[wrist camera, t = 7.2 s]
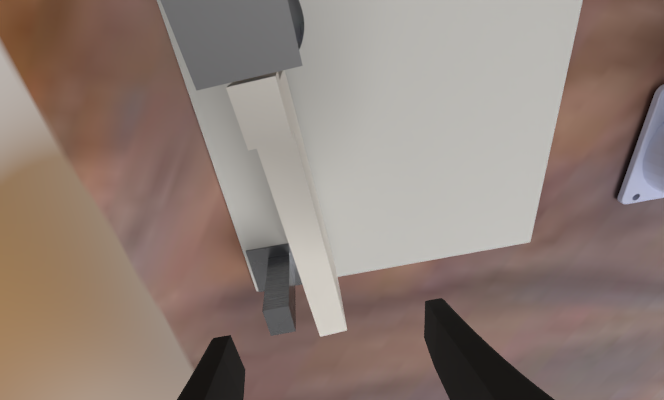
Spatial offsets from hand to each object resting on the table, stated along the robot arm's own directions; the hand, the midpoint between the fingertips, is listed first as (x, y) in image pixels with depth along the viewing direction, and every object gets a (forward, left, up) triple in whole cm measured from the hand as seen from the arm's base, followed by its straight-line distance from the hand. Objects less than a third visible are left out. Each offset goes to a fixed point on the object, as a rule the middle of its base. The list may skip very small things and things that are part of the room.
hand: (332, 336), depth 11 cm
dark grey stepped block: (+3, +4, -9) cm, 11 cm away
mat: (-5, -3, -9) cm, 11 cm away
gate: (+1, -4, -9) cm, 9 cm away
